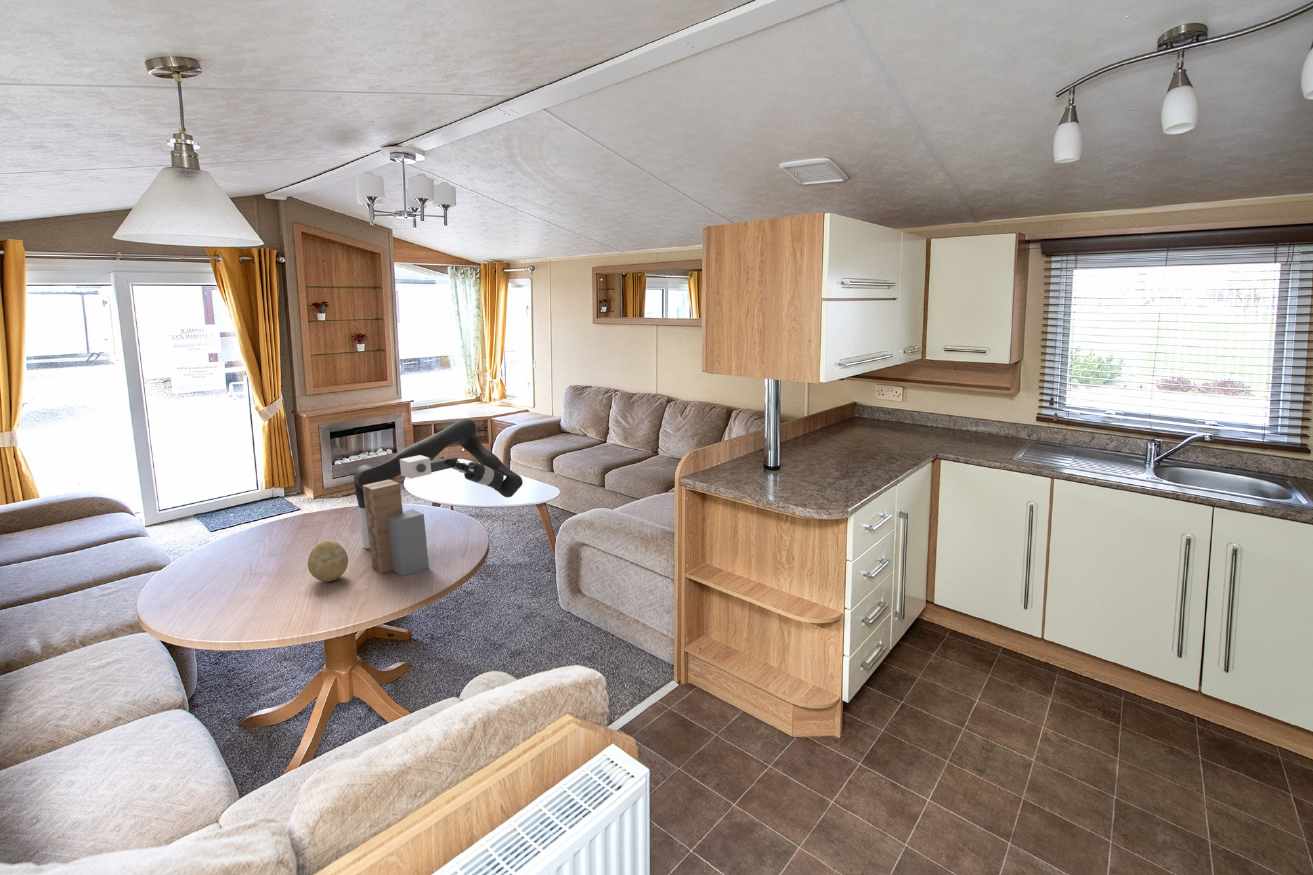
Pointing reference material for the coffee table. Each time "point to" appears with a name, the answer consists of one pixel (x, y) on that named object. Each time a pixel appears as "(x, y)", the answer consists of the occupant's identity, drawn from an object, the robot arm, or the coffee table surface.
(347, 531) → the coffee table surface
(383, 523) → the walnut post
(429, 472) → the action camera
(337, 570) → the fossilized egg
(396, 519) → the grey rectangular block
